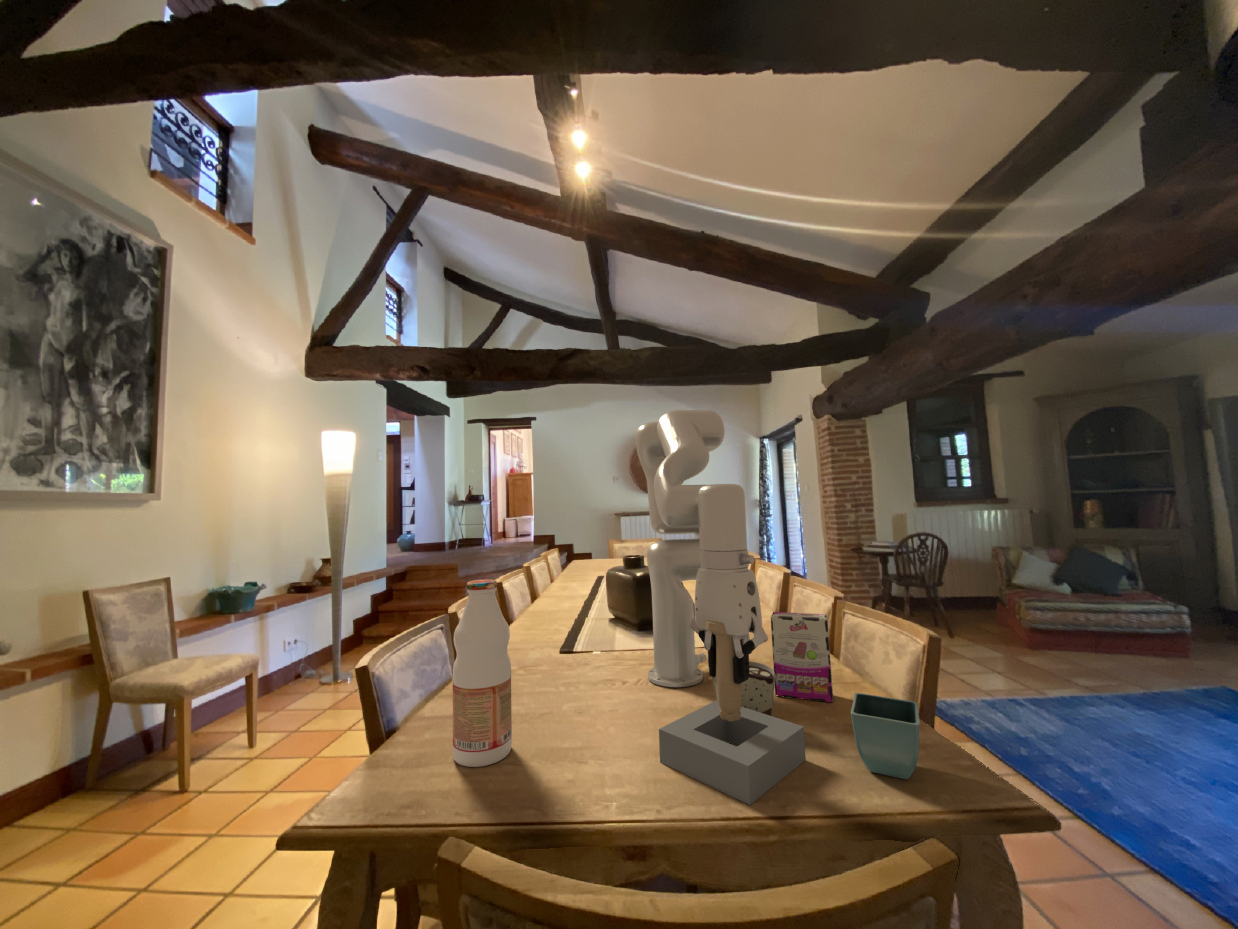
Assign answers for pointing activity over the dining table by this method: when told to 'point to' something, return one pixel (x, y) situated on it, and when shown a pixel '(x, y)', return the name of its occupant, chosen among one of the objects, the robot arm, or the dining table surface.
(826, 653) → the candy bar box
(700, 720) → the well block
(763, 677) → the food container
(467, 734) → the fruit juice
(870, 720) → the flower pot
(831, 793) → the dining table surface
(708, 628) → the handle
